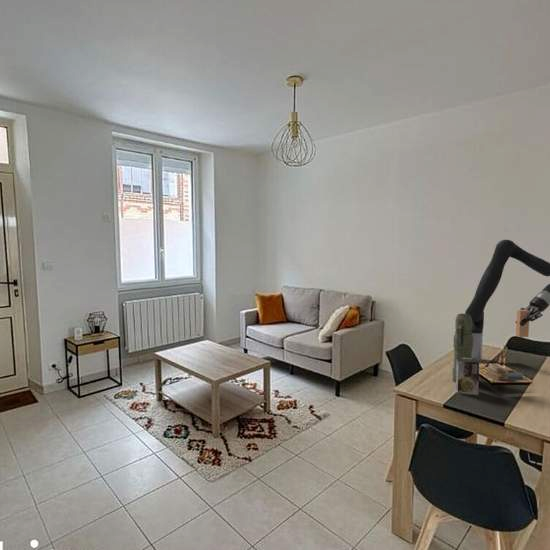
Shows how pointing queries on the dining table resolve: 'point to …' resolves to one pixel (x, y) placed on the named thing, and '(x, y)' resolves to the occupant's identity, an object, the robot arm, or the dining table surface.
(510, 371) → the rack
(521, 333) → the board
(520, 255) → the robot arm
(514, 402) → the dining table surface
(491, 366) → the offcut pile
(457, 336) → the thermos
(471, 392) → the coffee box
